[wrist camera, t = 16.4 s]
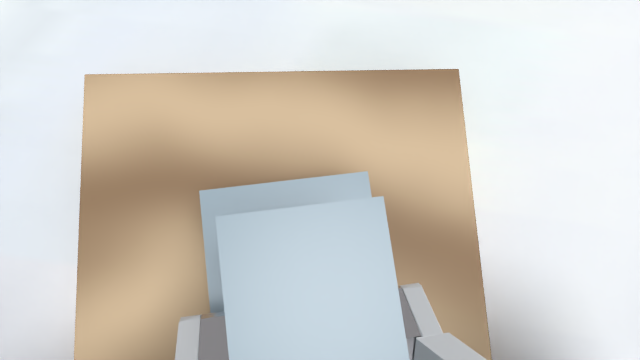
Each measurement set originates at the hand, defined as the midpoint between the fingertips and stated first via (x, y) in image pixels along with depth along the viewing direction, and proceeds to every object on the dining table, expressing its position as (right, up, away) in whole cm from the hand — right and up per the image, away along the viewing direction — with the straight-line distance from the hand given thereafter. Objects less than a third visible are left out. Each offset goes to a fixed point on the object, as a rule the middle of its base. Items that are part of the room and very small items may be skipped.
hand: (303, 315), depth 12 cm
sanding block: (0, -2, +4) cm, 4 cm away
